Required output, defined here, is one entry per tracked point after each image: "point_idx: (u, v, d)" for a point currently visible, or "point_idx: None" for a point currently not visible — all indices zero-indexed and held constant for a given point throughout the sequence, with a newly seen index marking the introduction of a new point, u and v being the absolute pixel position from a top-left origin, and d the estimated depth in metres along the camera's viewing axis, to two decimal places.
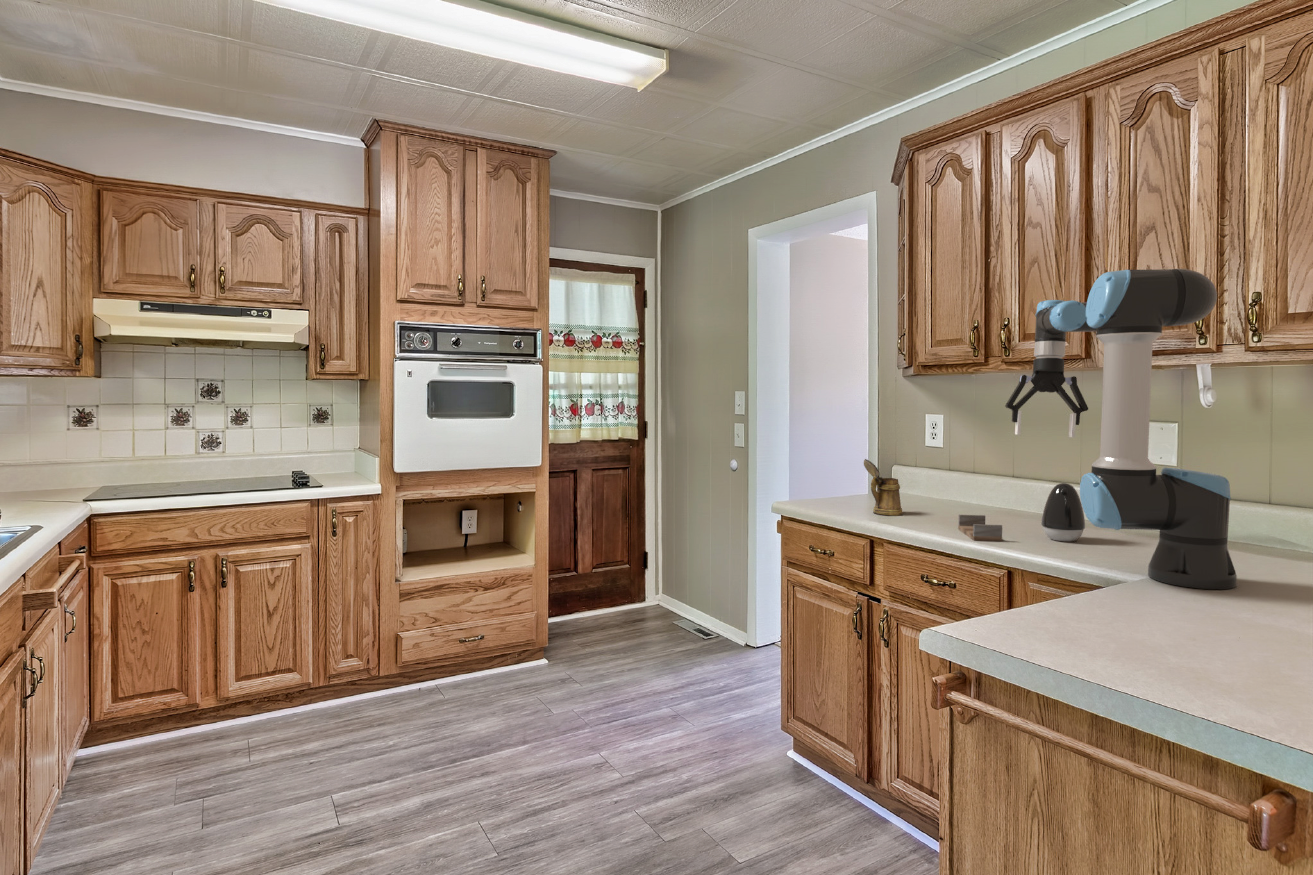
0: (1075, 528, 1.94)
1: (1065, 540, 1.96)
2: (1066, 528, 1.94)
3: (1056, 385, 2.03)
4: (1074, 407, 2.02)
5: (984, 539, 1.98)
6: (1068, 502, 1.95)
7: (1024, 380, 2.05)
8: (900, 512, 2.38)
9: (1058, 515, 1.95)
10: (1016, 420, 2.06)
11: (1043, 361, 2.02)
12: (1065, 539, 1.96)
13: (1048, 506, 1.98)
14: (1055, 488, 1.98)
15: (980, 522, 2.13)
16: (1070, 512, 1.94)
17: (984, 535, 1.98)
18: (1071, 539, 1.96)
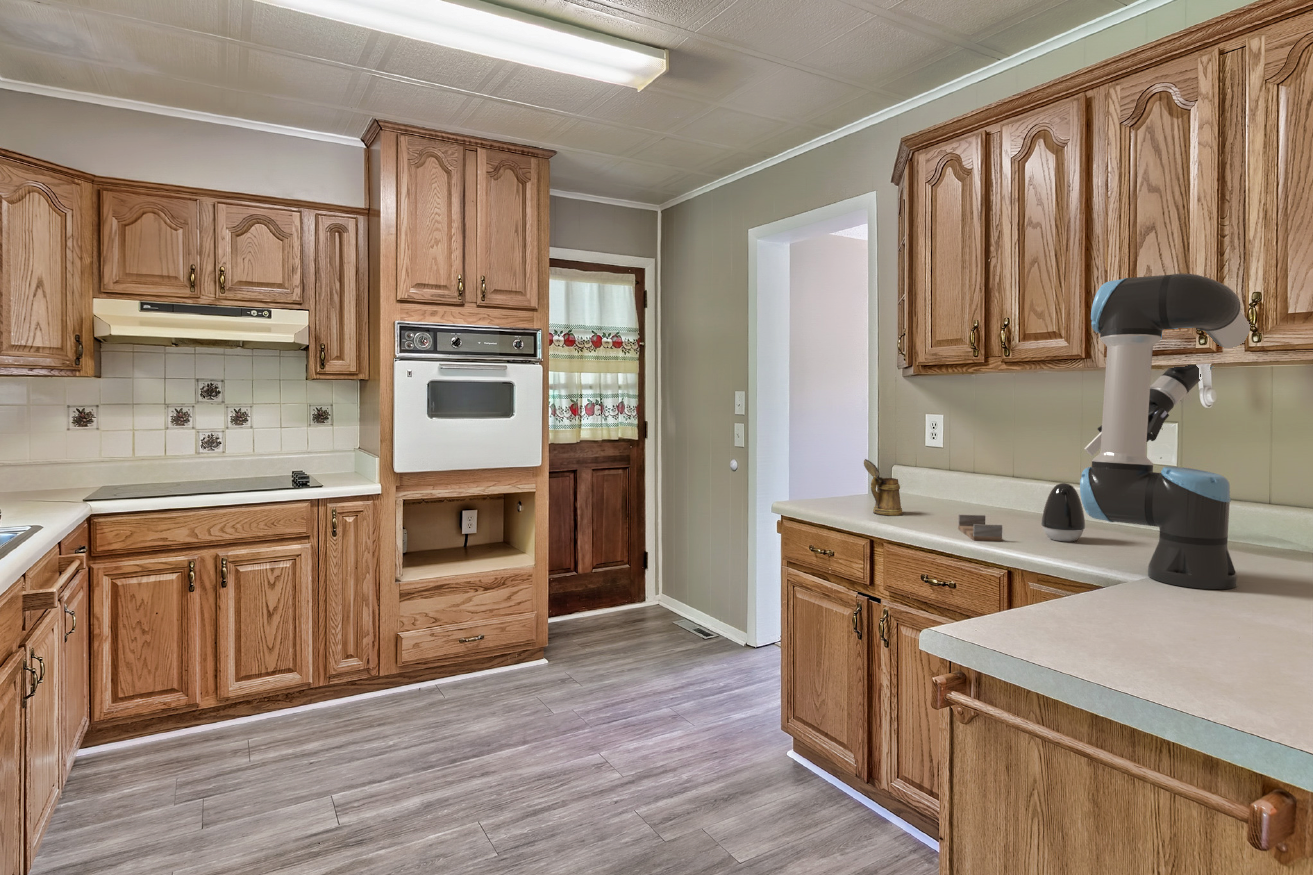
0: (1075, 528, 1.94)
1: (1065, 540, 1.96)
2: (1066, 528, 1.94)
3: None
4: None
5: (984, 539, 1.98)
6: (1068, 502, 1.95)
7: None
8: (900, 512, 2.38)
9: (1058, 515, 1.95)
10: None
11: None
12: (1065, 539, 1.96)
13: (1048, 506, 1.98)
14: (1055, 488, 1.98)
15: (980, 522, 2.13)
16: (1070, 512, 1.94)
17: (984, 535, 1.98)
18: (1071, 539, 1.96)
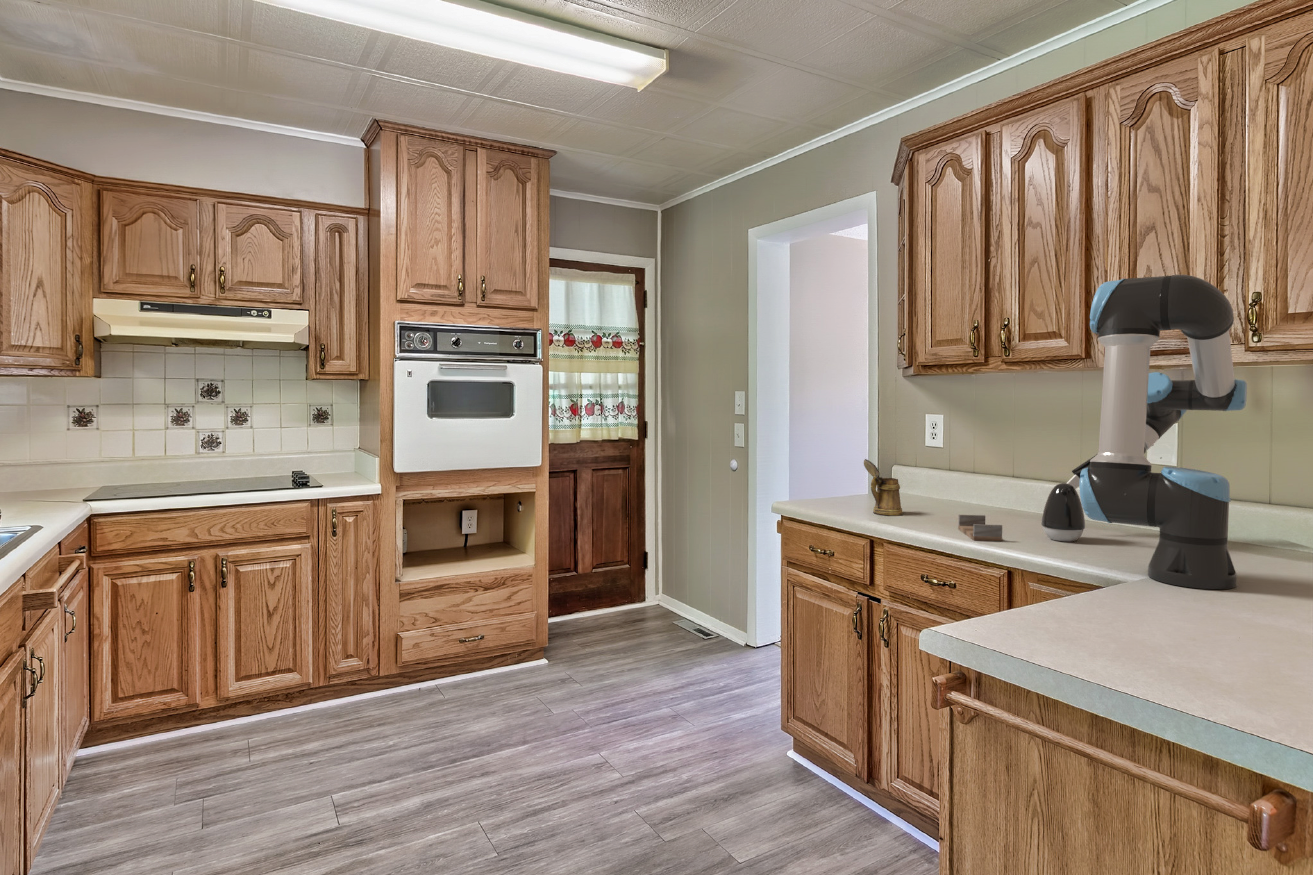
0: (1075, 528, 1.94)
1: (1065, 540, 1.96)
2: (1066, 528, 1.94)
3: None
4: None
5: (984, 539, 1.98)
6: (1068, 502, 1.95)
7: None
8: (900, 512, 2.38)
9: (1058, 515, 1.95)
10: None
11: None
12: (1065, 539, 1.96)
13: (1048, 506, 1.98)
14: (1055, 488, 1.98)
15: (980, 522, 2.13)
16: (1070, 512, 1.94)
17: (984, 535, 1.98)
18: (1071, 539, 1.96)
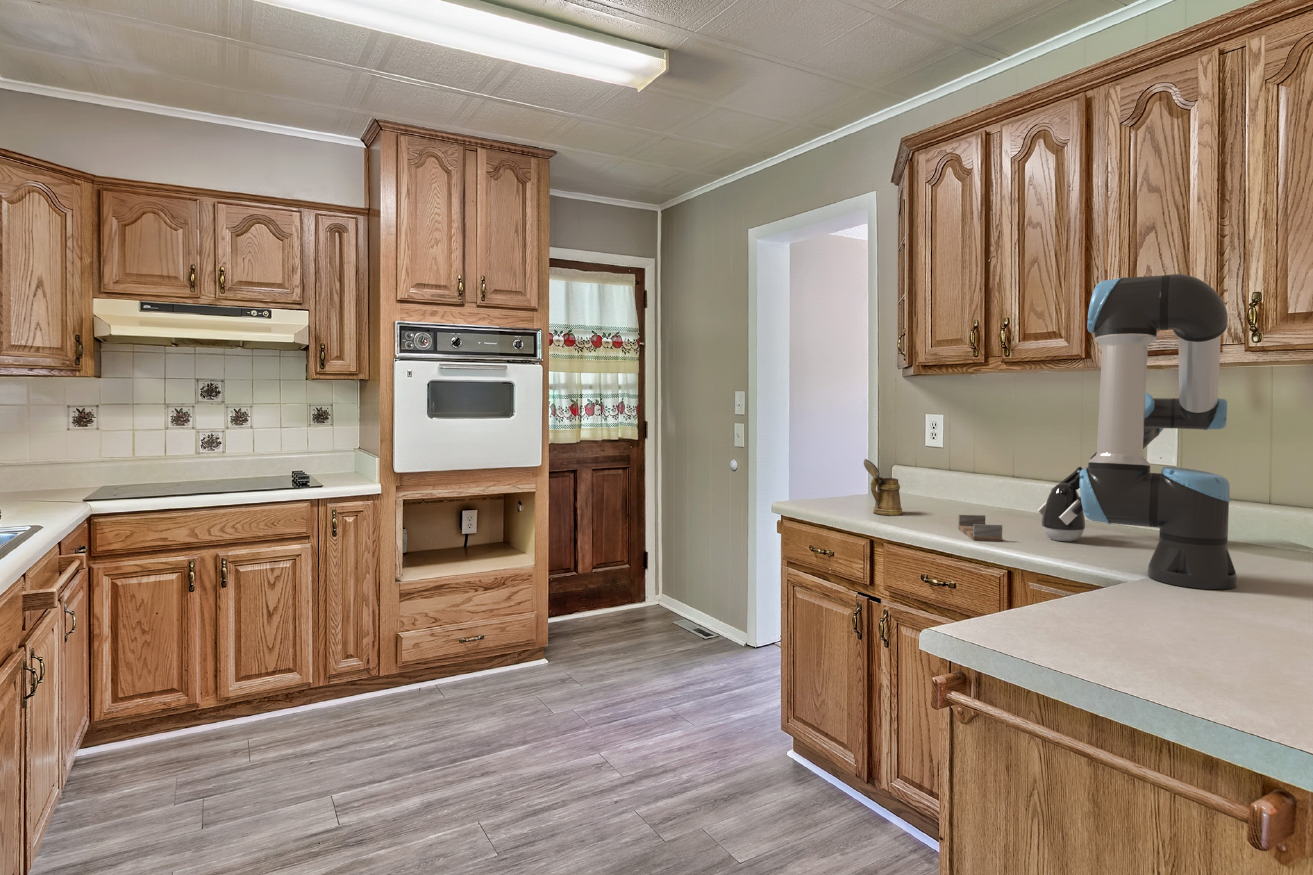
0: (1075, 528, 1.94)
1: (1065, 540, 1.96)
2: (1066, 528, 1.94)
3: None
4: None
5: (984, 539, 1.98)
6: (1068, 501, 1.95)
7: (1077, 470, 2.04)
8: (900, 512, 2.38)
9: (1058, 515, 1.95)
10: None
11: None
12: (1065, 539, 1.96)
13: (1048, 506, 1.98)
14: (1055, 488, 1.98)
15: (980, 522, 2.13)
16: None
17: (984, 535, 1.98)
18: (1071, 539, 1.96)
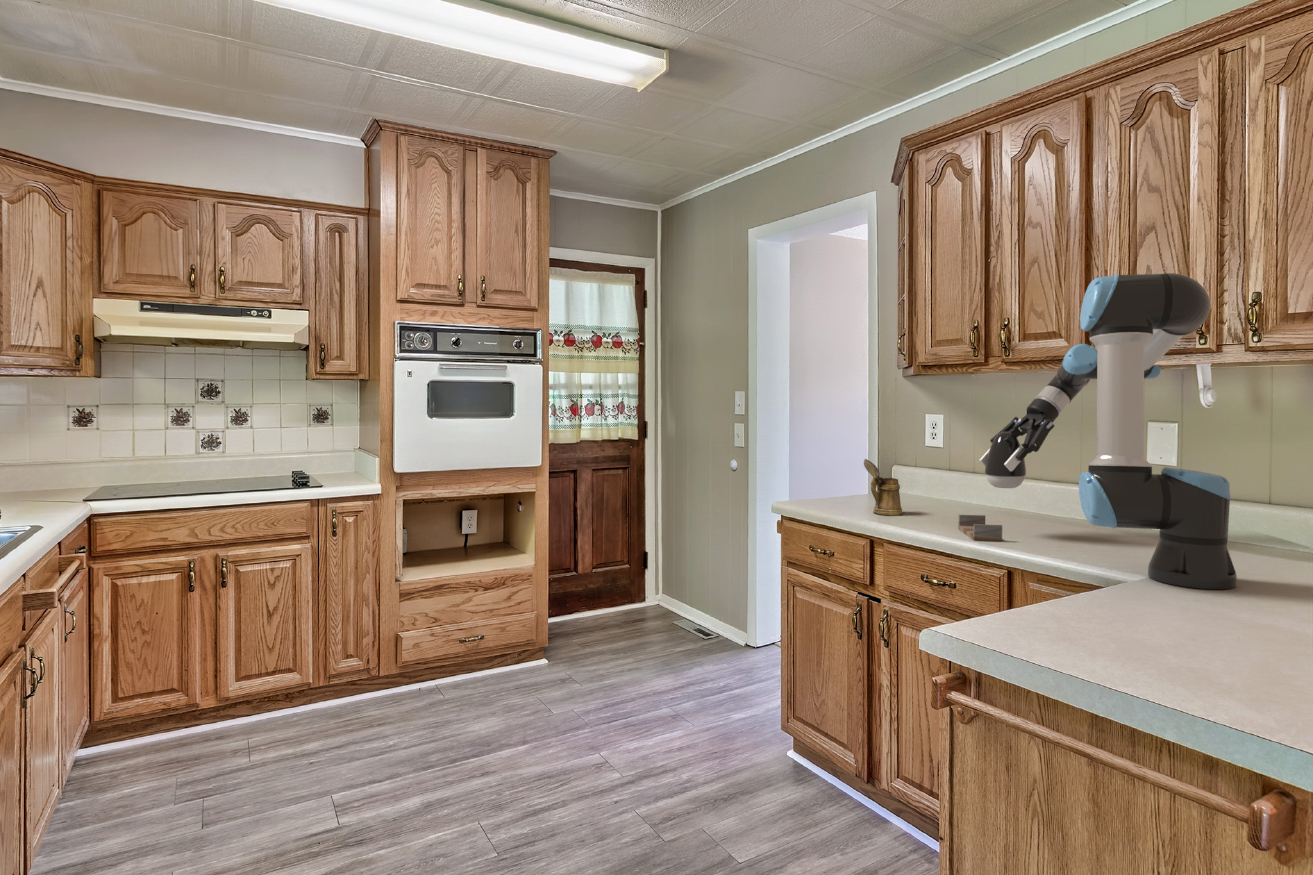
0: (1019, 474, 2.00)
1: (1009, 487, 2.02)
2: (1010, 475, 1.99)
3: (1030, 422, 2.03)
4: (1025, 442, 1.99)
5: (984, 539, 1.98)
6: (1012, 449, 2.00)
7: (1013, 420, 2.11)
8: (900, 512, 2.38)
9: (1002, 462, 2.00)
10: (988, 451, 2.10)
11: (1032, 401, 2.07)
12: (1009, 486, 2.01)
13: (992, 455, 2.03)
14: (998, 436, 2.03)
15: (980, 522, 2.13)
16: None
17: (984, 535, 1.98)
18: (1014, 485, 2.01)
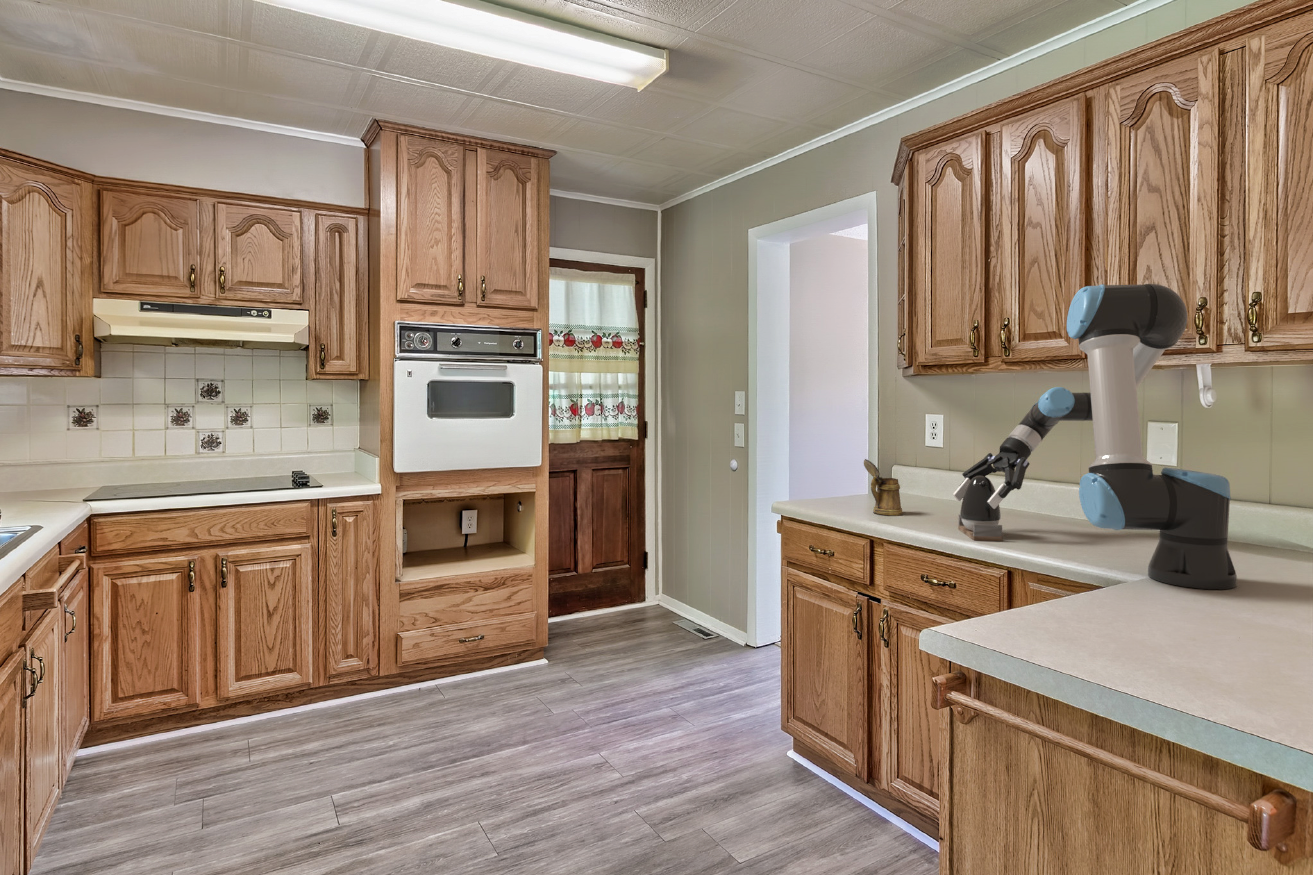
0: (994, 519, 2.01)
1: None
2: (986, 519, 2.01)
3: (1004, 461, 2.05)
4: (1006, 479, 1.99)
5: (984, 539, 1.98)
6: (987, 493, 2.01)
7: (987, 456, 2.13)
8: (900, 512, 2.38)
9: (978, 507, 2.01)
10: None
11: None
12: None
13: (967, 499, 2.04)
14: (973, 480, 2.04)
15: None
16: None
17: (984, 535, 1.98)
18: None
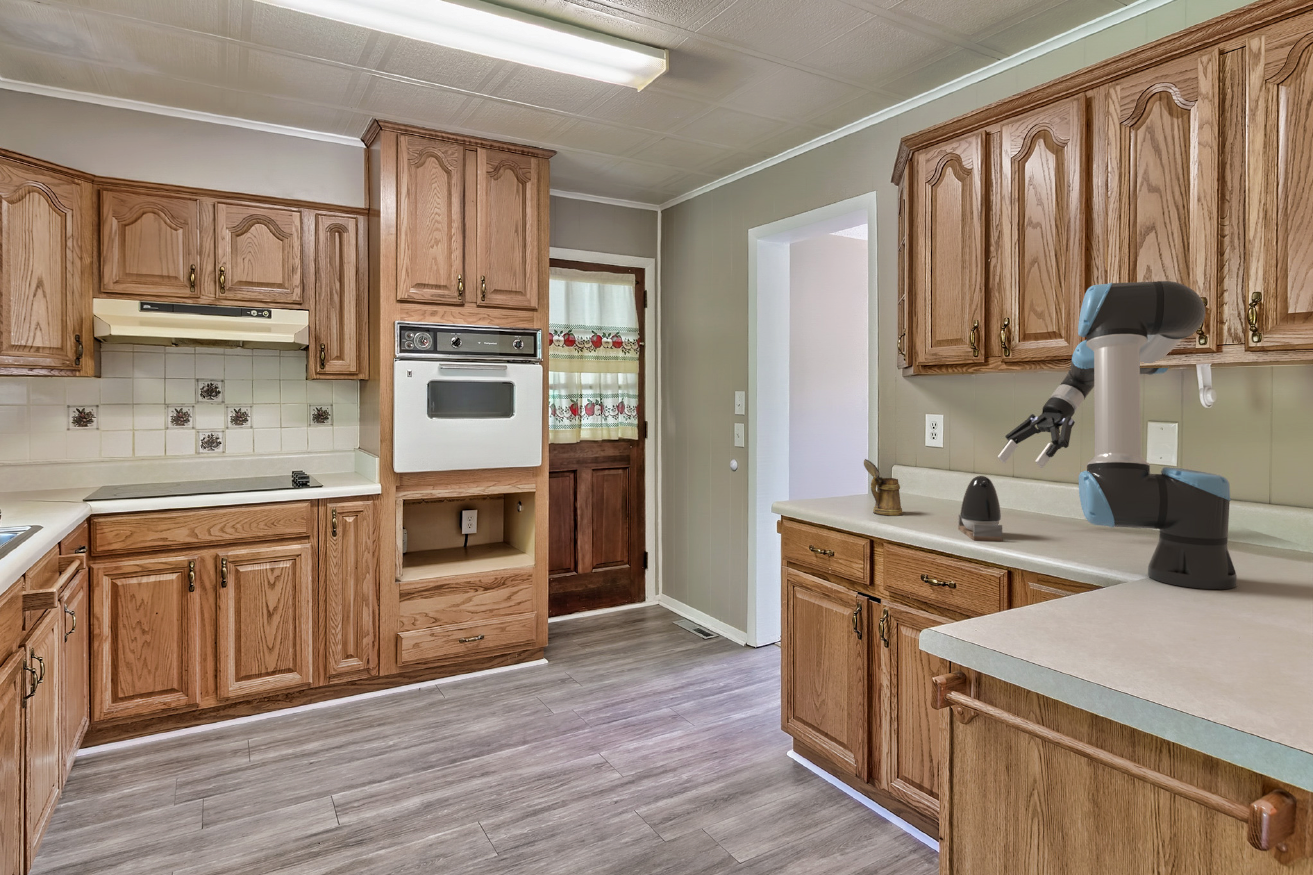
0: (994, 519, 2.01)
1: None
2: (987, 519, 2.01)
3: (1049, 420, 2.07)
4: (1053, 439, 2.01)
5: (984, 539, 1.98)
6: (988, 494, 2.01)
7: (1030, 418, 2.14)
8: (900, 512, 2.38)
9: (979, 507, 2.01)
10: None
11: None
12: None
13: (968, 499, 2.04)
14: (974, 481, 2.04)
15: None
16: (989, 503, 2.01)
17: (984, 535, 1.98)
18: None
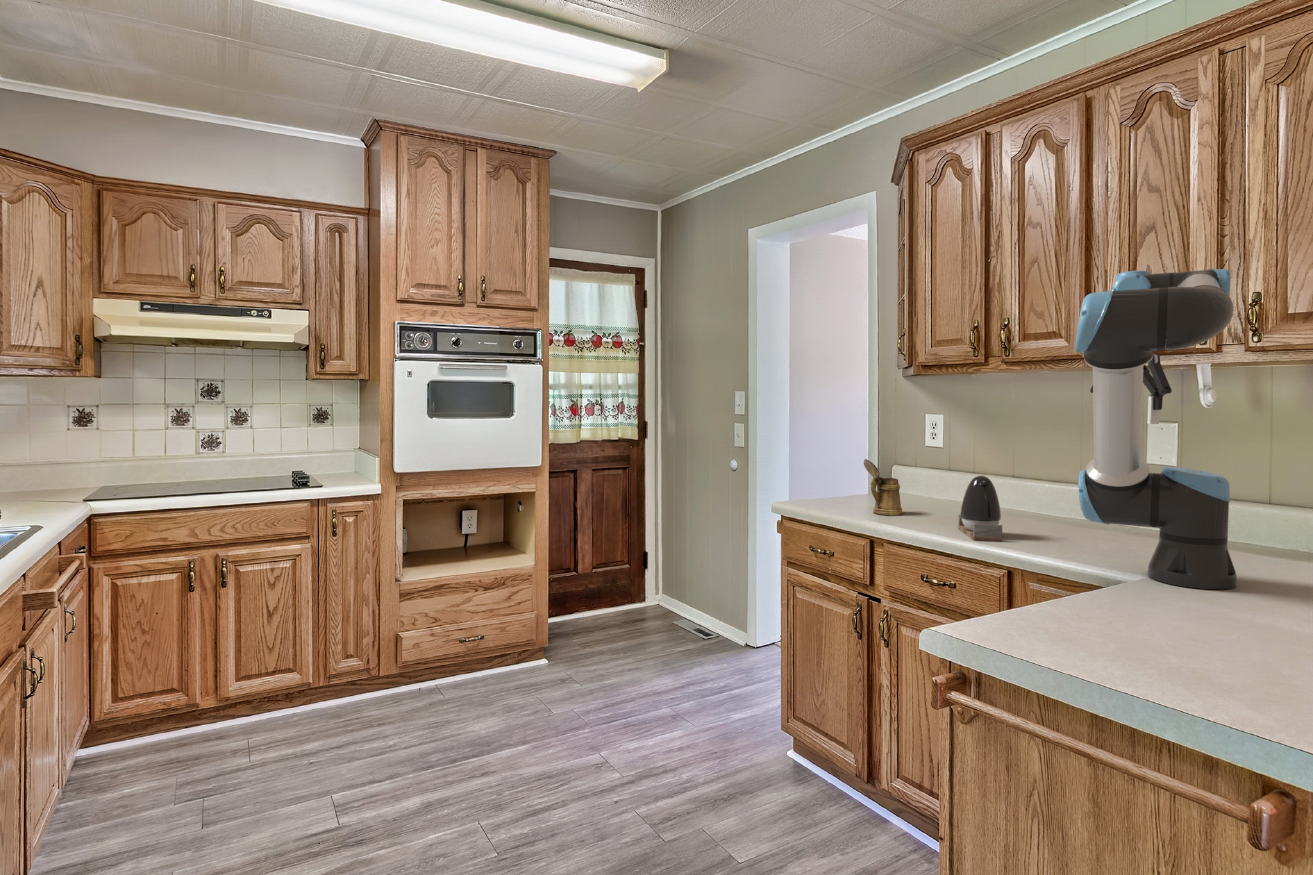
0: (994, 519, 2.01)
1: None
2: (987, 519, 2.01)
3: None
4: (1150, 390, 1.78)
5: (984, 539, 1.98)
6: (988, 494, 2.01)
7: None
8: (900, 512, 2.38)
9: (979, 507, 2.01)
10: None
11: None
12: None
13: (968, 499, 2.04)
14: (974, 481, 2.04)
15: None
16: (990, 503, 2.01)
17: (984, 535, 1.98)
18: None
